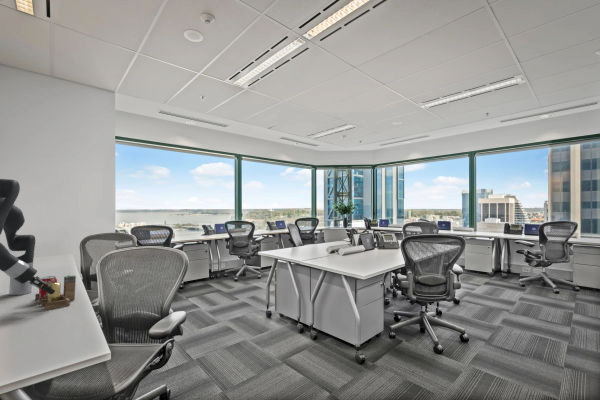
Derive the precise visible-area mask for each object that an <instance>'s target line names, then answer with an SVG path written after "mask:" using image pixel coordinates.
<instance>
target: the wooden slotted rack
mask: <svg viewBox="0 0 600 400" xmlns="http://www.w3.org/2000/svg"><path fill="white" fill-rule="evenodd" d="M72 275H73V274H72ZM67 276H68V275H65V276H64V277H63V279H64V280H63V292H61V291H60V301H55V302H49V303H48V296H47V297H41V298H39V293H35V299H34V300H35V301H38V305H41V307H44V311H48V310H53V309H57V308H63V307H68V306H70V305H71V301H75V299H76V297H75V296H76V279H77V278H76V275H73V276H72V277H67Z"/></svg>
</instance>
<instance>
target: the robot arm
mask: <svg viewBox="0 0 600 400" xmlns="http://www.w3.org/2000/svg"><path fill="white" fill-rule="evenodd" d="M20 187H21V186H20V183H19V181H18V180H15V179H8V178H7V179H6V178H0V236H1V234H2V233H3V231H4V234H5V235H4V236H5V238H6V244H7V247H8V248H6V246H5V245H4V244H3V243H2V242H0V271H1V272H3V273H4V274H5V275H6V276H8V277H9V290H8V295H9V296H20V295H26V294H30V293H32V287H35V288H37V289H38V290H39V289H40V288H41V289H42V290H44V291H46V292H48V293H49V294H53V293H54V292H55V290H53V289H52V288H50V287H49V286H48V285H46V283H45V282H44V281H43V280H41V278H42V277H40V276H38V275H37V273H38V270H37V269H35V268H34V258H35V257H34V256H35V247H36V246H35V245H36V237H35V235H33V234H17V233H18V231H19V230H20V229H21V228H22V227H23V226H24V224H25V220H26V219H25V215H24V212H23V211H22V210H21V209H20V208H19V207H18V206H16V205H15V202H16V201H17V198H18V196H19V193H20V191H21V188H20ZM9 250H10V251H11V252H24V253H23V254H22V255H20V256H14V255H13V254H11V252H10V251H9ZM36 275H37V276H36Z"/></svg>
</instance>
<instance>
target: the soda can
mask: <svg viewBox="0 0 600 400" xmlns="http://www.w3.org/2000/svg"><path fill="white" fill-rule="evenodd" d="M56 277H57V276H56V275H50V276H44V277H40V278H41V280H43V281H44V282H45V283H46V285H48V286H49V284H50V283H58V279H57V278H56ZM38 294H39V298H41V297H47V296H48V292H46V291H44V290H42V289H41V288H40V289H39V288H38Z"/></svg>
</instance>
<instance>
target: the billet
mask: <svg viewBox="0 0 600 400" xmlns="http://www.w3.org/2000/svg"><path fill="white" fill-rule="evenodd" d="M61 284H62V282H57V283H50V284H49V287H50V288H52V289H53V290H55V292H54V293H53V294H49V293H48V303H49V302H55V301H60V292H61V287H62V285H61Z"/></svg>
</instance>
